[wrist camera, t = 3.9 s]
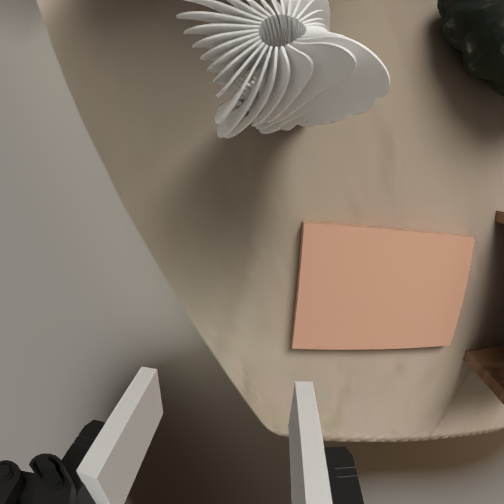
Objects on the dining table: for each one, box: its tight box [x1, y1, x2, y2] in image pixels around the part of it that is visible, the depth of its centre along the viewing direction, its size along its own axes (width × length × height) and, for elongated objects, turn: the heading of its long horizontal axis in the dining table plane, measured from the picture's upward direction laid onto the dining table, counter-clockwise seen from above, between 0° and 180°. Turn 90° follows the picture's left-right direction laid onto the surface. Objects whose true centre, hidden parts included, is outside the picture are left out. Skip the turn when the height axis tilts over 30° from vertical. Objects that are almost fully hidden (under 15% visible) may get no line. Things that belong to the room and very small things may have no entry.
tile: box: [291, 221, 475, 350], centre depth 28 cm, size 18×12×2 cm, turn 88°
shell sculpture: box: [176, 0, 390, 138], centre depth 17 cm, size 8×8×18 cm
